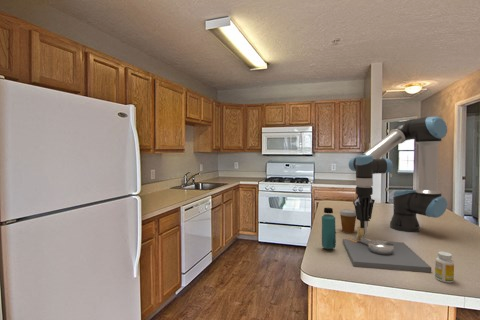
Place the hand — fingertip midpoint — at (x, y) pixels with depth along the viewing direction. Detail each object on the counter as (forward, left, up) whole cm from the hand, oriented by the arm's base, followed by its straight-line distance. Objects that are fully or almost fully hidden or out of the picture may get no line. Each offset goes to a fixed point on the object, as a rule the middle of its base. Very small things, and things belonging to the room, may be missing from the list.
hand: (363, 233), depth 130 cm
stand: (-4, +12, -6) cm, 14 cm away
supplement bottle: (-20, +31, -6) cm, 37 cm away
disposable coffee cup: (+4, -22, -6) cm, 24 cm away
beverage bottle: (+18, +9, -6) cm, 21 cm away
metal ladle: (-2, +8, -4) cm, 9 cm away
